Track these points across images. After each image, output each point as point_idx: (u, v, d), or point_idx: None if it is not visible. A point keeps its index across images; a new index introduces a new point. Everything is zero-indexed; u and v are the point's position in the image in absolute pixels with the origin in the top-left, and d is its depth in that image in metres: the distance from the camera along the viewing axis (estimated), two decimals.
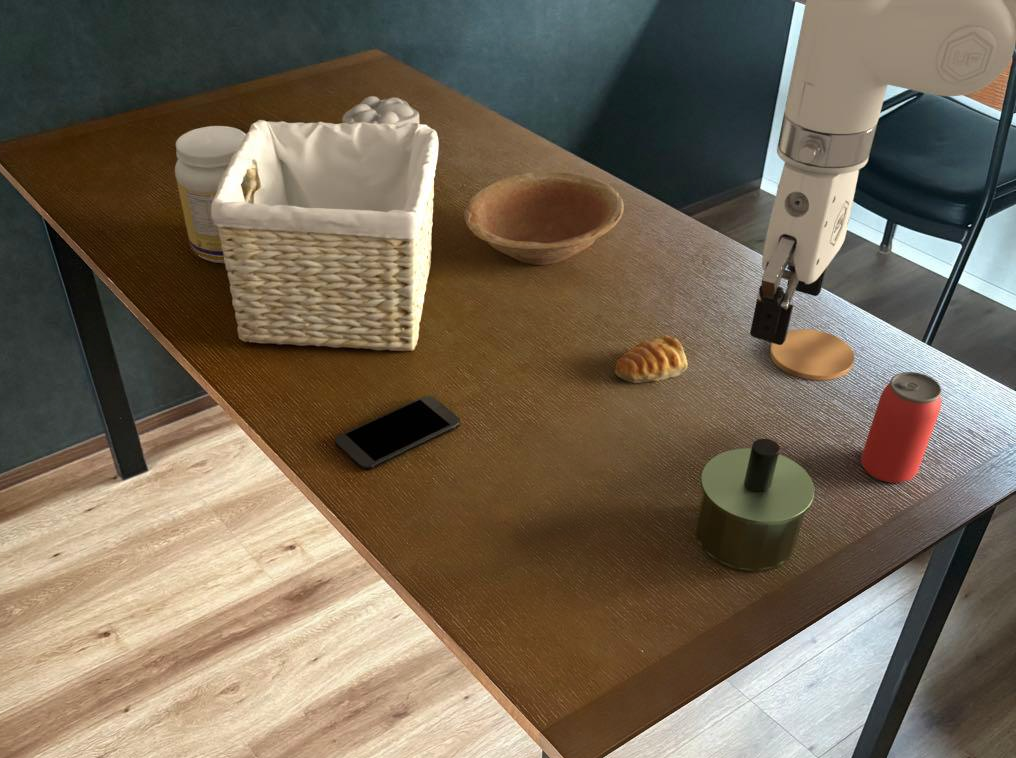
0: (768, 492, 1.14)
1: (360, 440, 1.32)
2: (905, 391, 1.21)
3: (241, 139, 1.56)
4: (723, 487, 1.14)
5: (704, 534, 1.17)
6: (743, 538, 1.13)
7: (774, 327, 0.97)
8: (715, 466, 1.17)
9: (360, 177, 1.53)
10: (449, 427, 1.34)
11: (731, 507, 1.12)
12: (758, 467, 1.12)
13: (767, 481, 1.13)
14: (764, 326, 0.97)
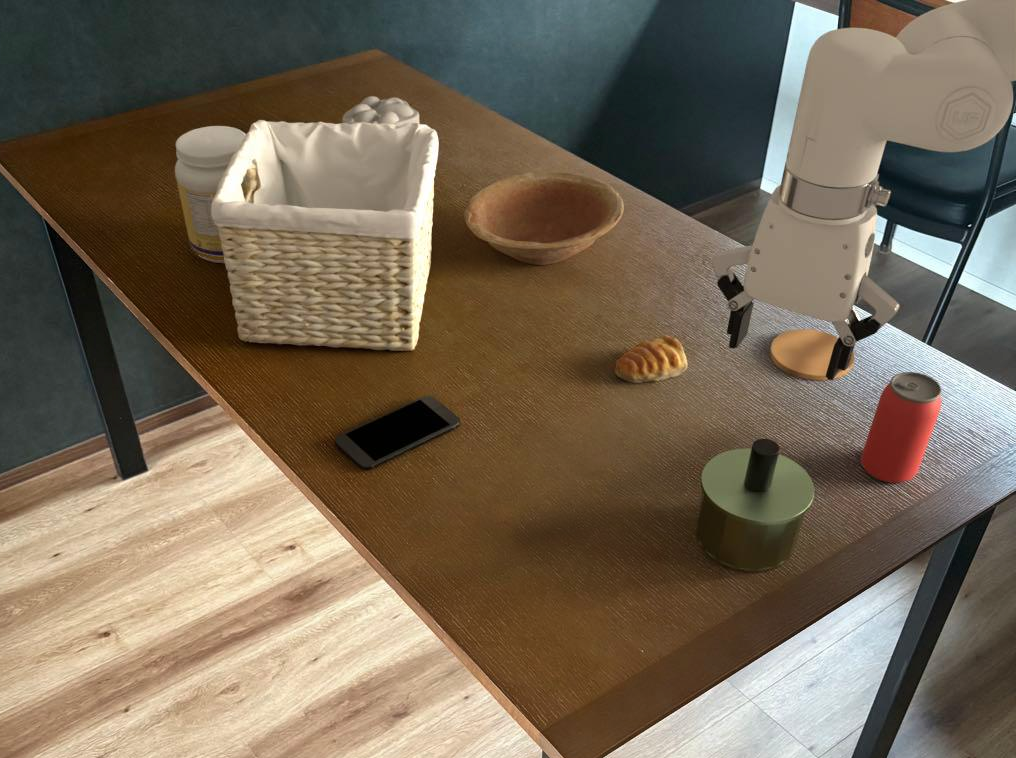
0: (768, 492, 1.14)
1: (360, 440, 1.32)
2: (905, 391, 1.21)
3: (241, 139, 1.56)
4: (723, 487, 1.14)
5: (704, 534, 1.17)
6: (743, 538, 1.13)
7: (851, 354, 1.00)
8: (715, 466, 1.17)
9: (360, 177, 1.53)
10: (449, 427, 1.34)
11: (731, 507, 1.12)
12: (758, 467, 1.12)
13: (767, 481, 1.13)
14: (847, 360, 1.00)
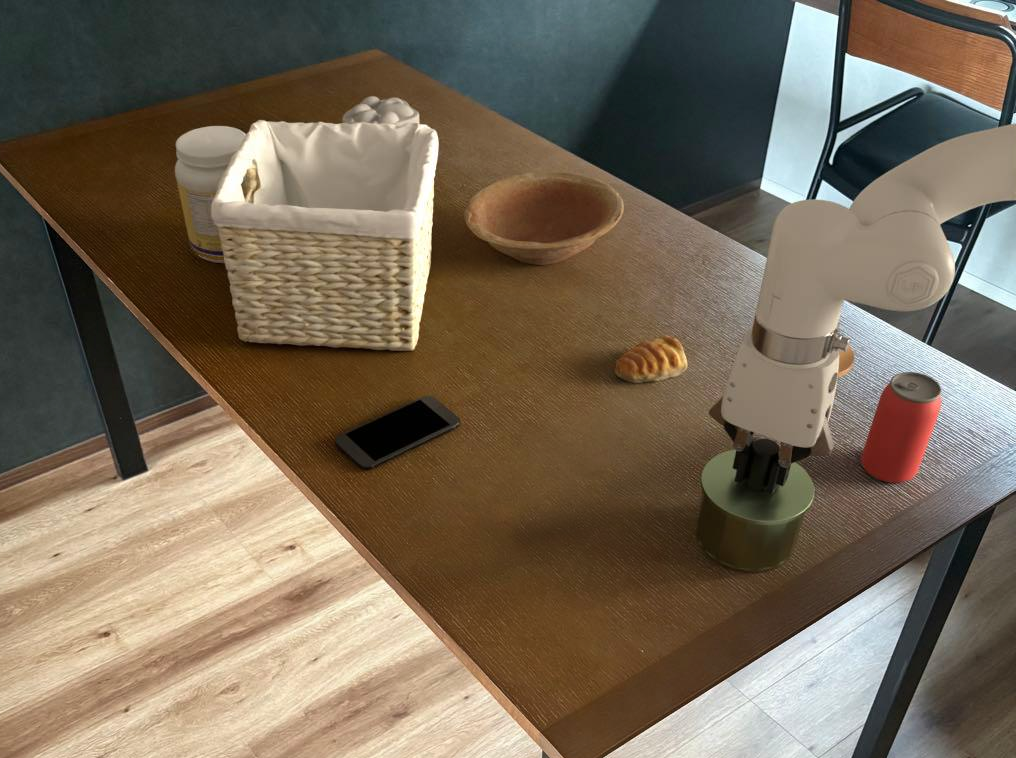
0: None
1: (360, 440, 1.32)
2: (905, 391, 1.21)
3: (241, 139, 1.56)
4: (723, 487, 1.14)
5: (704, 534, 1.17)
6: (743, 538, 1.13)
7: None
8: (715, 466, 1.17)
9: (360, 177, 1.53)
10: (449, 427, 1.34)
11: (731, 507, 1.12)
12: (758, 467, 1.12)
13: (767, 481, 1.13)
14: (785, 478, 1.12)
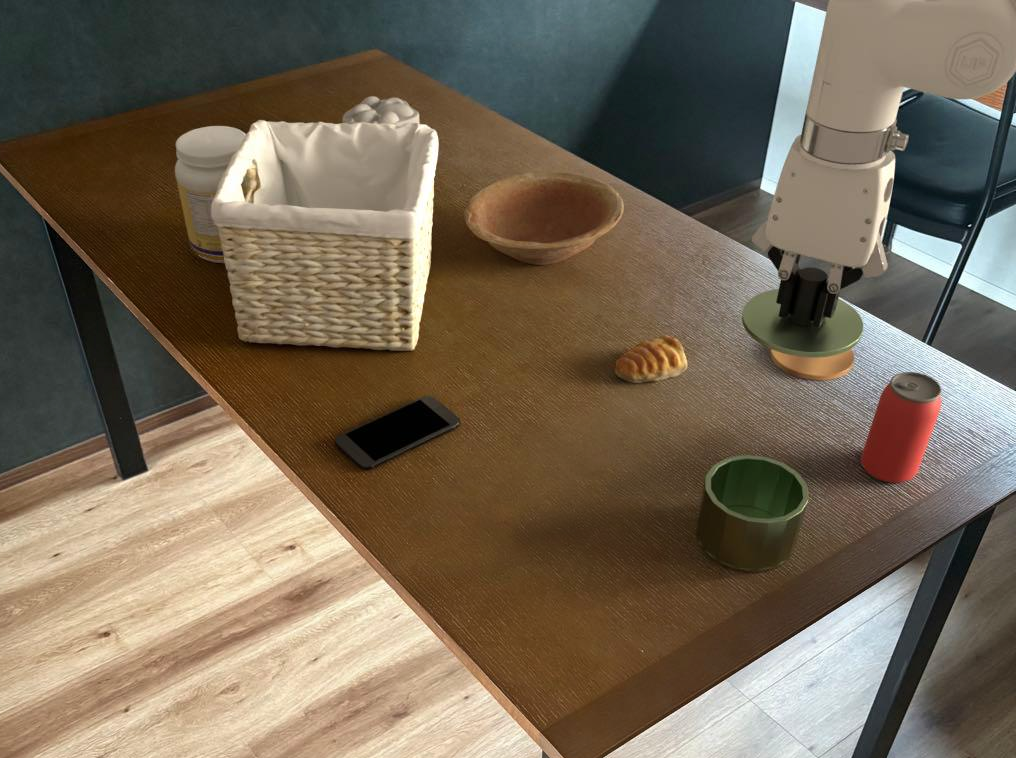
0: None
1: (360, 440, 1.32)
2: (905, 391, 1.21)
3: (241, 139, 1.56)
4: (766, 323, 1.07)
5: (704, 534, 1.17)
6: (743, 538, 1.13)
7: None
8: (756, 304, 1.10)
9: (360, 177, 1.53)
10: (449, 427, 1.34)
11: (776, 340, 1.05)
12: (804, 297, 1.05)
13: (814, 314, 1.06)
14: (833, 308, 1.05)
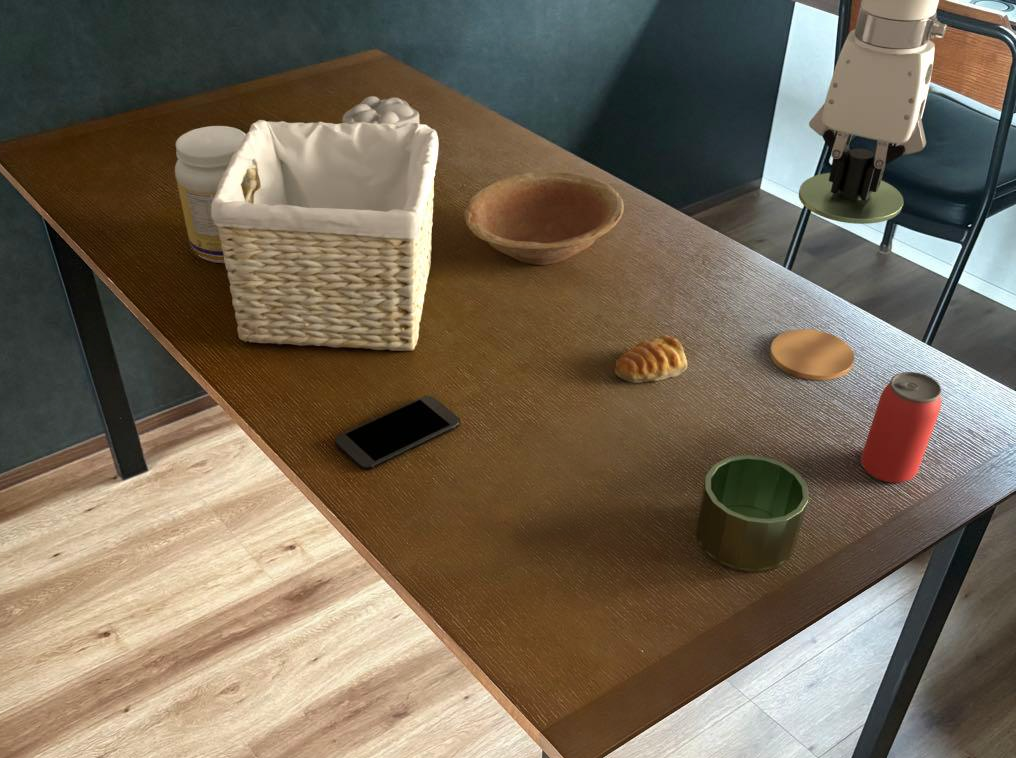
0: (861, 200, 1.25)
1: (360, 440, 1.32)
2: (905, 391, 1.21)
3: (241, 139, 1.56)
4: (820, 197, 1.26)
5: (704, 534, 1.17)
6: (743, 538, 1.13)
7: (881, 178, 1.24)
8: (811, 184, 1.28)
9: (360, 177, 1.53)
10: (449, 427, 1.34)
11: (829, 210, 1.24)
12: (853, 173, 1.23)
13: (861, 188, 1.25)
14: (878, 183, 1.24)
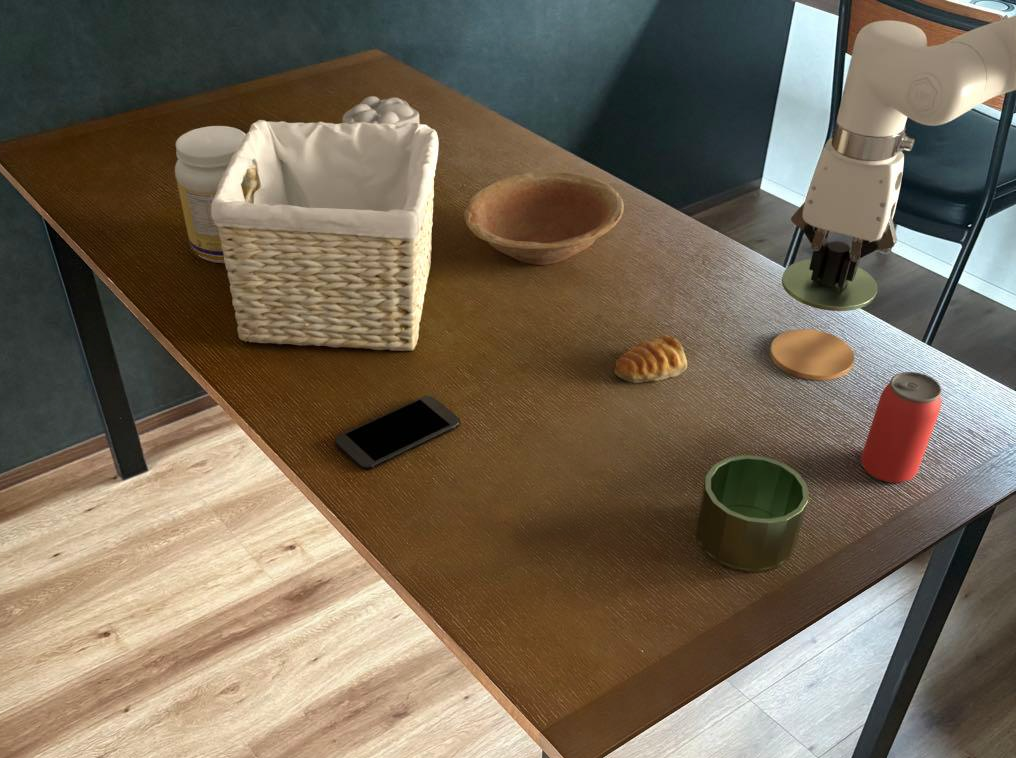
0: (839, 288, 1.37)
1: (360, 440, 1.32)
2: (905, 391, 1.21)
3: (241, 139, 1.56)
4: (801, 284, 1.37)
5: (704, 534, 1.17)
6: (743, 538, 1.13)
7: None
8: (793, 270, 1.40)
9: (360, 177, 1.53)
10: (449, 427, 1.34)
11: (809, 297, 1.35)
12: (831, 264, 1.35)
13: (838, 277, 1.36)
14: (853, 273, 1.35)
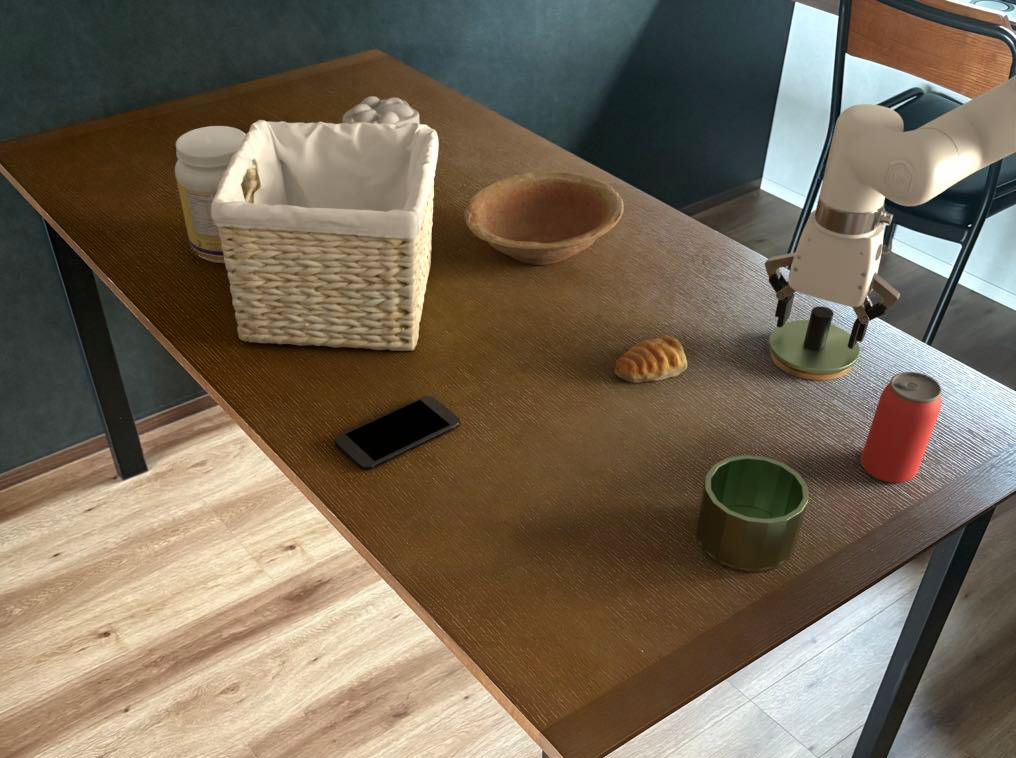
0: (823, 350, 1.43)
1: (360, 440, 1.32)
2: (905, 391, 1.21)
3: (241, 139, 1.56)
4: (787, 347, 1.44)
5: (704, 534, 1.17)
6: (743, 538, 1.13)
7: None
8: (780, 332, 1.46)
9: (360, 177, 1.53)
10: (449, 427, 1.34)
11: (794, 360, 1.42)
12: (816, 328, 1.41)
13: (823, 340, 1.42)
14: (863, 334, 1.39)
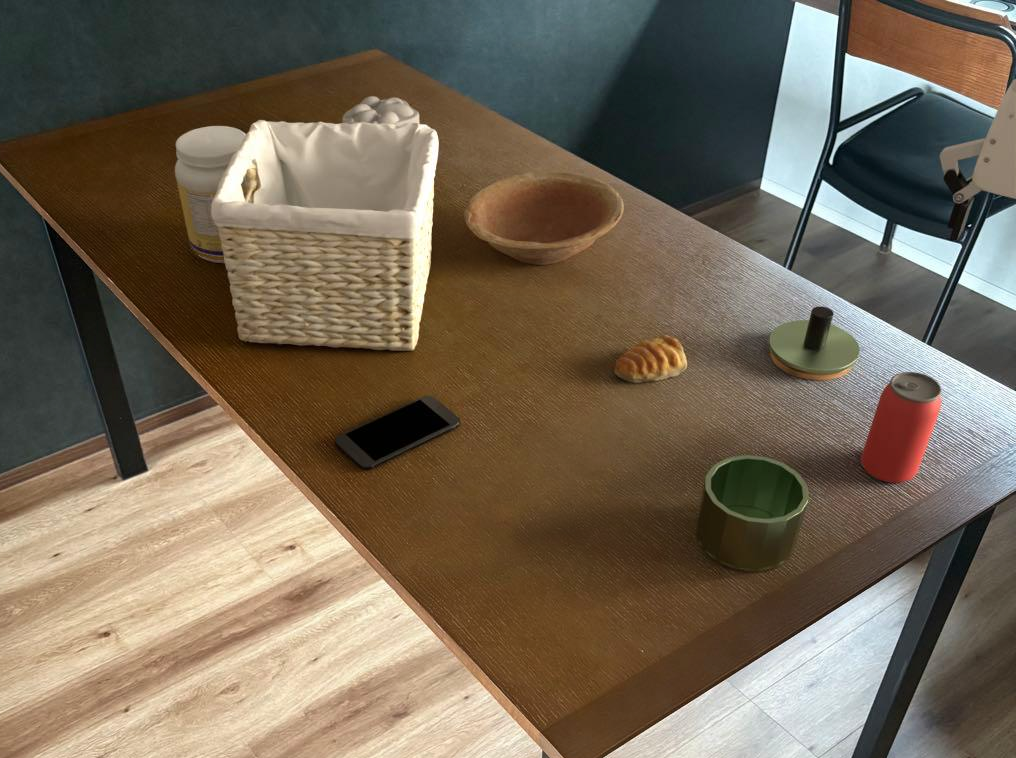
0: (823, 350, 1.43)
1: (360, 440, 1.32)
2: (905, 391, 1.21)
3: (241, 139, 1.56)
4: (787, 347, 1.44)
5: (704, 534, 1.17)
6: (743, 538, 1.13)
7: None
8: (780, 332, 1.46)
9: (360, 177, 1.53)
10: (449, 427, 1.34)
11: (794, 360, 1.42)
12: (816, 328, 1.41)
13: (823, 340, 1.42)
14: None
